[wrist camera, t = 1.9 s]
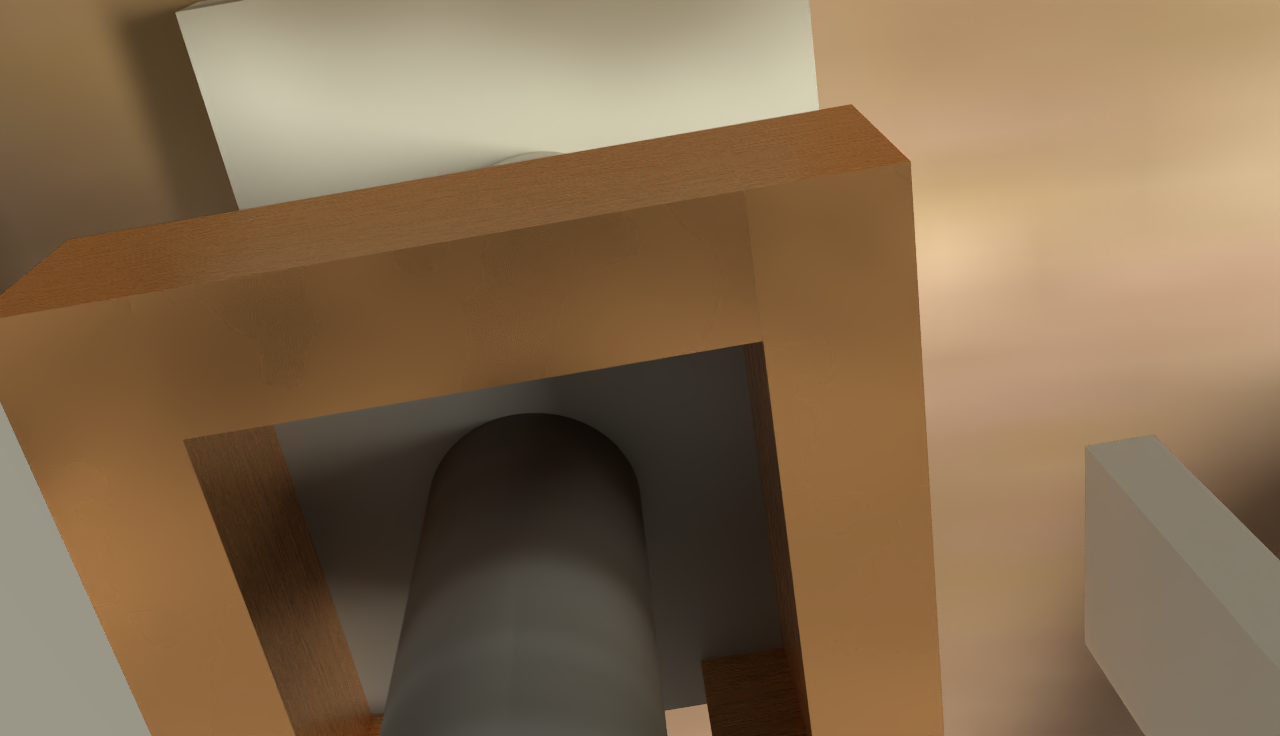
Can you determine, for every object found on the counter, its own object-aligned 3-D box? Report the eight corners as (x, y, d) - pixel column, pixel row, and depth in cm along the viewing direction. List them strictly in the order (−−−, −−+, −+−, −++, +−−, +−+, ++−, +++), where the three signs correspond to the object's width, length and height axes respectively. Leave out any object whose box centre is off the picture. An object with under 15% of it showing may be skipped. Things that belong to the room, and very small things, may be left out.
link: (67, 239, 13) (-36, 324, 11) (851, 104, 13) (910, 161, 11) (294, 813, 17) (254, 961, 15) (900, 713, 17) (950, 848, 15)
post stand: (197, 1, 23) (-678, 411, 7) (786, -102, 23) (1321, 68, 7) (355, 501, 28) (69, 1413, 12) (836, 420, 28) (1207, 1234, 12)
